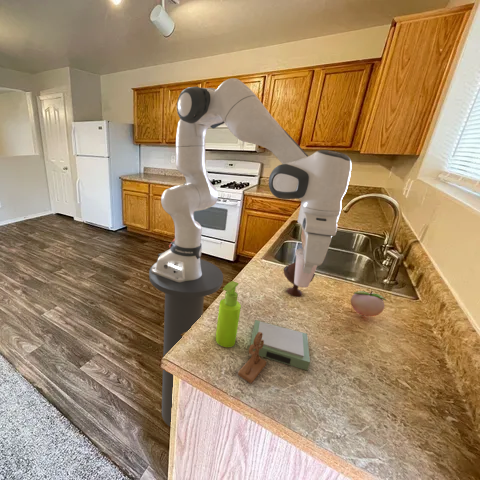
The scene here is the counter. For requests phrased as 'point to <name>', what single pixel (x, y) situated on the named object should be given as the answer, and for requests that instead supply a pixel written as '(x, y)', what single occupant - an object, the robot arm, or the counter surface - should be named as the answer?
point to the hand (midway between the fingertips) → (305, 266)
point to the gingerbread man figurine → (253, 361)
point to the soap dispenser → (228, 317)
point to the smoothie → (301, 277)
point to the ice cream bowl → (292, 279)
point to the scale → (283, 344)
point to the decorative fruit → (367, 303)
